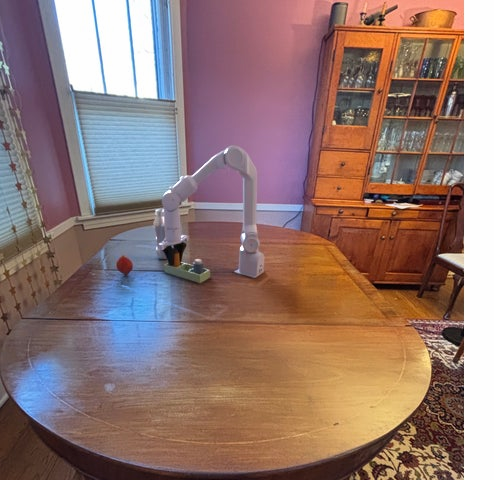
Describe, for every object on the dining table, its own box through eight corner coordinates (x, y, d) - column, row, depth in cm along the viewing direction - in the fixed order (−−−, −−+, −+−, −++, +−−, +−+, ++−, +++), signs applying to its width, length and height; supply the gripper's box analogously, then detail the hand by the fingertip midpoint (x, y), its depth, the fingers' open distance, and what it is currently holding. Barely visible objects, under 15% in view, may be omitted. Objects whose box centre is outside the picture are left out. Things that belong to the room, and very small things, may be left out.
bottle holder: (210, 278, 112) (210, 269, 110) (200, 284, 107) (199, 275, 105) (174, 268, 119) (174, 259, 118) (164, 273, 115) (163, 264, 113)
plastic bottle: (173, 255, 132) (170, 208, 121) (169, 261, 126) (165, 212, 115) (159, 255, 132) (154, 208, 121) (154, 260, 126) (149, 211, 116)
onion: (114, 275, 112) (111, 255, 107) (125, 270, 116) (122, 250, 112) (126, 279, 109) (123, 258, 105) (137, 273, 114) (134, 253, 110)
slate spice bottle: (205, 277, 111) (205, 259, 107) (199, 280, 108) (198, 262, 105) (197, 275, 113) (197, 257, 109) (191, 278, 110) (190, 260, 106)
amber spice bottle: (181, 267, 115) (180, 250, 112) (175, 270, 113) (174, 252, 109) (174, 265, 117) (173, 248, 113) (168, 268, 114) (167, 250, 111)
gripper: (177, 221, 114) (179, 255, 121) (150, 229, 103) (154, 266, 111) (192, 224, 111) (193, 259, 118) (165, 233, 100) (168, 270, 107)
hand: (175, 263), depth 114 cm, fingers closed on amber spice bottle, 4 cm apart
